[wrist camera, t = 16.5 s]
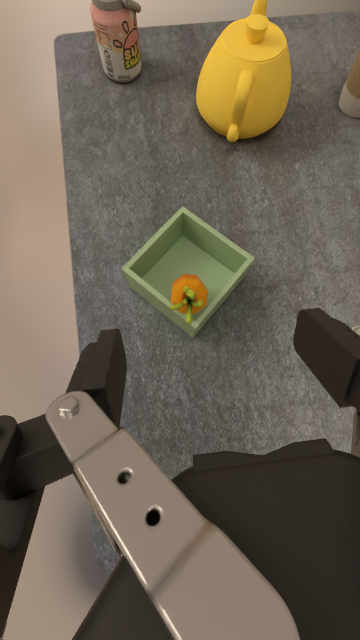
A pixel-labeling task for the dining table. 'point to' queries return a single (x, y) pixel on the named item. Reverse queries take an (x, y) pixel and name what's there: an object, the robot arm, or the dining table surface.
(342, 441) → the dining table surface
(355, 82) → the coffee cup
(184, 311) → the carrot
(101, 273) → the dining table surface
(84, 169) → the dining table surface
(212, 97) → the teapot
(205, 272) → the bin
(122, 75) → the beverage can
